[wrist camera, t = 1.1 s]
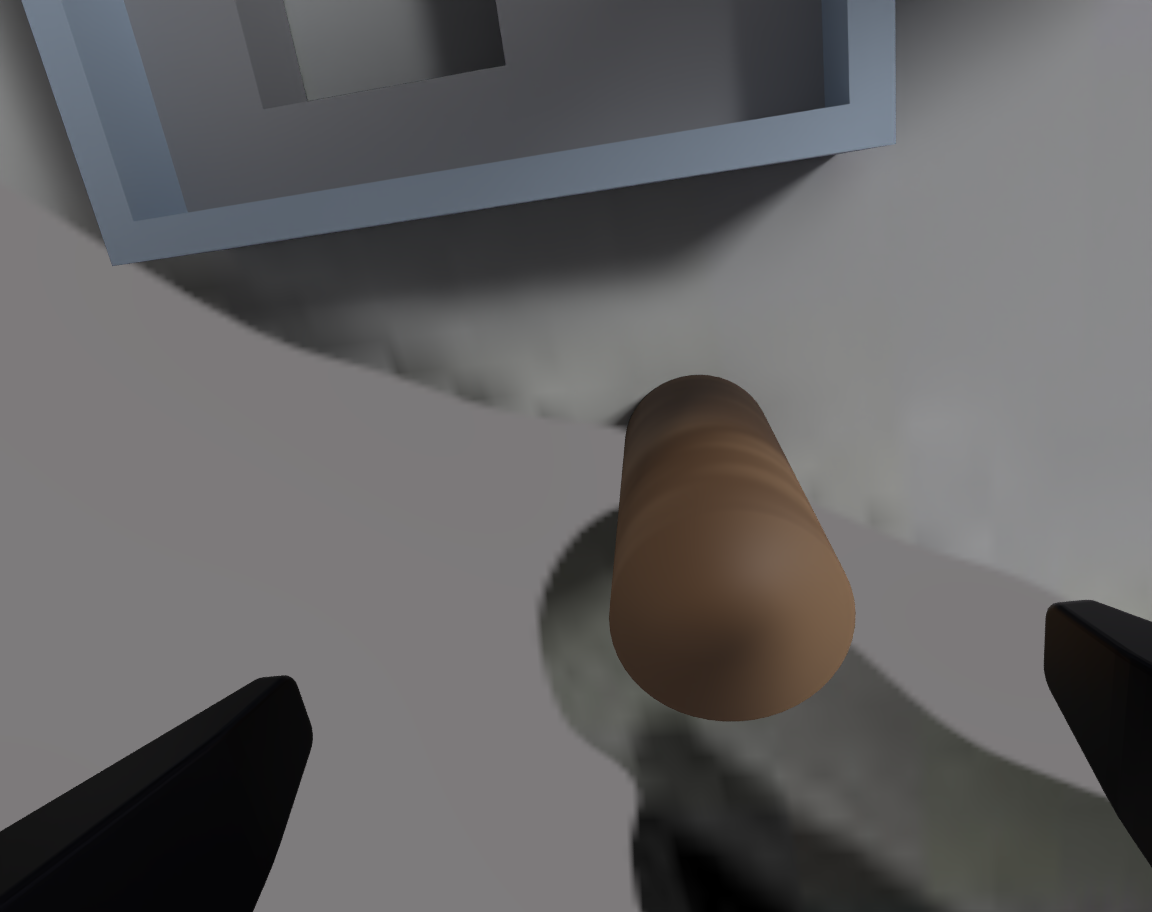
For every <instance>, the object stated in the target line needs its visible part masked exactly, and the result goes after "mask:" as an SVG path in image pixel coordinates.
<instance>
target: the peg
mask: <svg viewBox="0 0 1152 912" xmlns="http://www.w3.org/2000/svg"><path fill="white" fill-rule="evenodd" d="M609 623H610V633H611V637H612V642H613V645H614V648H615V650H616V653H617V656H618V658H619V660H620V661H621V663H622V665H623V667H624V668H625V670H626V671H627V672H628V674H629V675H630V676H631V678H632V679H633V680H634V681H635V682H636V683H637V684H638V685H639V686H640V687H641V688H642V689H643V690H644V691H645V692H647V693H648V694H649V695H650V696H652V697H653V698H654V699H656V700H658V701H659V702H661V703H662V704H664V705H666V706H668V707H670V708H672V709H674V710H676V711H679V712H681V713H684V714H687V715H690V716H693V717H698V718H703V719H707V720H716V721H746V720H754V719H759V718H764V717H768V716H771V715H774V714H777V713H780V712H783V711H786V710H788V709H790V708H792V707H794V706H796V705H798V704H800V703H801V702H803V701H805V700H806V699H808V698H809V697H811V696H812V695H813V694H815V693H816V692H817V691H818V690H820V689H821V688H822V687H823V686H824V685H825V684H826V683H827V682H828V681H829V680H830V679H831V678H832V676H833V675H834V674H835V672H836V671H837V670H838V668H839V667H840V666H841V664H842V662H843V660H844V658H845V656H846V655H847V652H848V650H849V647H850V644H851V642H852V638H853V633H854V628H855V603H854V597H853V593H852V589H851V586H850V583H849V581H848V579H847V577H846V574H845V572H844V570H843V568H842V566H841V564H840V562H839V560H838V558H837V556H836V554H835V552H834V550H833V548H832V546H831V544H830V543H829V541H828V539H827V537H826V535H825V533H824V531H823V529H822V527H821V525H820V523H819V521H818V519H817V517H816V515H815V513H814V511H813V509H812V507H811V505H810V503H809V501H808V499H807V498H806V496H805V494H804V492H803V490H802V488H801V486H800V484H799V482H798V480H797V478H796V476H795V474H794V472H793V470H792V468H791V466H790V464H789V462H788V460H787V458H786V456H785V454H784V452H783V451H782V449H781V447H780V445H779V443H778V441H777V439H776V437H775V435H774V433H773V431H772V429H771V427H770V425H769V423H768V421H767V419H766V417H765V415H764V413H763V411H762V410H761V408H760V407H759V405H758V403H757V402H756V401H755V400H754V399H753V397H752V396H751V395H749V394H748V393H747V392H746V391H745V390H744V389H742V388H741V387H739V386H738V385H736V384H734V383H732V382H730V381H728V380H725V379H722V378H719V377H714V376H709V375H689V376H684V377H679V378H676V379H673V380H670V381H668V382H666V383H664V384H662V385H660V386H658V387H657V388H655V389H654V390H653V391H651V392H650V393H649V394H648V395H647V396H646V397H645V398H644V399H643V400H642V401H641V402H640V403H639V405H638V406H637V407H636V409H635V410H634V412H633V414H632V416H631V418H630V421H629V424H628V426H627V431H626V437H625V447H624V459H623V470H622V481H621V491H620V502H619V513H618V524H617V535H616V546H615V557H614V568H613V578H612V589H611V600H610V613H609Z"/></svg>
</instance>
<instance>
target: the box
mask: <svg viewBox="0 0 1152 912" xmlns="http://www.w3.org/2000/svg"><path fill="white" fill-rule="evenodd" d="M21 1H22V3H23V6H24V9H25V12H26V15H27V18H28V21H29V24H30V27H31V30H32V33H33V36H34V39H35V41H36V44H37V47H38V50H39V53H40V56H41V59H42V62H43V65H44V68H45V71H46V74H47V76H48V79H49V82H50V85H51V88H52V91H53V94H54V97H55V100H56V103H57V106H58V109H59V112H60V114H61V117H62V120H63V123H64V126H65V129H66V132H67V135H68V138H69V141H70V144H71V147H72V149H73V152H74V155H75V158H76V161H77V164H78V167H79V170H80V173H81V176H82V179H83V182H84V184H85V187H86V190H87V193H88V196H89V199H90V202H91V205H92V208H93V211H94V214H95V217H96V220H97V222H98V225H99V228H100V231H101V234H102V237H103V240H104V243H105V246H106V249H107V252H108V255H109V257H110V260H111V263H112V266H115V265H122V264H130V263H137V262H143V261H150V260H157V259H164V258H171V257H178V256H185V255H191V254H198V253H205V252H212V251H219V250H226V249H232V248H239V247H245V246H251V245H258V244H264V243H271V242H277V241H284V240H290V239H296V238H303V237H309V236H316V235H322V234H328V233H335V232H341V231H348V230H354V229H361V228H367V227H373V226H380V225H386V224H393V223H399V222H406V221H412V220H418V219H425V218H431V217H438V216H444V215H450V214H457V213H463V212H470V211H476V210H483V209H489V208H495V207H502V206H508V205H515V204H521V203H528V202H534V201H540V200H547V199H553V198H560V197H566V196H573V195H579V194H585V193H592V192H598V191H605V190H611V189H617V188H624V187H630V186H637V185H643V184H650V183H656V182H662V181H669V180H675V179H682V178H688V177H695V176H701V175H707V174H714V173H720V172H727V171H733V170H739V169H746V168H752V167H759V166H765V165H772V164H778V163H784V162H791V161H797V160H804V159H810V158H817V157H823V156H829V155H836V154H842V153H847V152H853V151H858V150H864V149H870V148H875V147H881V146H887V145H892V144H896V65H895V0H496V6H497V13H498V19H499V25H500V32H501V38H502V44H503V51H504V57H505V63H506V65H504V66H498V67H493V68H487V69H482V70H476V71H471V72H465V73H460V74H454V75H449V76H443V77H438V78H432V79H427V80H421V81H416V82H411V83H405V84H400V85H394V86H389V87H383V88H378V89H372V90H367V91H361V92H356V93H350V94H345V95H339V96H334V97H328V98H323V99H317V100H312V101H307V98H306V93H305V89H304V85H303V81H302V77H301V73H300V69H299V64H298V60H297V56H296V52H295V48H294V44H293V40H292V35H291V31H290V27H289V23H288V19H287V15H286V10H285V6H284V2H283V0H21Z"/></svg>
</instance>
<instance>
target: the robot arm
mask: <svg viewBox="0 0 1152 912" xmlns="http://www.w3.org/2000/svg"><path fill="white" fill-rule="evenodd" d="M1045 622H1046V623H1045V648H1044V672H1045V678H1046V681H1047V684H1048V687H1049V689H1050V691H1051V693H1052V695H1053V697H1054V699H1055V700H1056V702H1057V704H1058V706H1059V708H1060V710H1061V712H1062V714H1063V715H1064V717H1065V719H1066V721H1067V723H1068V725H1069V727H1070V729H1071V731H1072V732H1073V734H1074V736H1075V738H1076V740H1077V742H1078V744H1079V745H1080V747H1081V749H1082V751H1083V753H1084V755H1085V757H1086V759H1087V761H1088V762H1089V764H1090V766H1091V768H1092V770H1093V772H1094V774H1095V776H1096V778H1097V779H1098V781H1099V783H1100V785H1101V787H1102V789H1103V791H1104V793H1105V794H1106V796H1107V798H1108V800H1109V801H1110V803H1111V805H1112V807H1113V808H1114V810H1115V812H1116V814H1117V815H1118V817H1119V819H1120V820H1121V822H1122V823H1123V825H1124V826H1125V828H1126V829H1127V831H1128V833H1129V834H1130V836H1131V837H1132V839H1133V840H1134V842H1135V843H1136V845H1137V846H1138V848H1139V849H1140V851H1141V852H1142V854H1143V855H1144V857H1145V858H1146V859H1147V861H1148V862H1149V864H1150V865H1151V867H1152V622H1151V621H1148V620H1145V619H1143V618H1140V617H1137V616H1134V615H1132V614H1129V613H1126V612H1124V611H1121V610H1118V609H1115V608H1113V607H1110V606H1107V605H1105V604H1102V603H1099V602H1096V601H1093V600H1078V601H1068V602H1058V603H1054V604H1052V605H1051V606H1050V607H1049V608H1048V611H1047V613H1046V621H1045ZM312 741H313V733H312V727H311V723H310V720H309V717H308V715H307V712H306V709H305V706H304V703H303V700H302V697H301V695H300V692H299V689H298V686H297V684H296V682H295V681H294V680H293V678H291V677H289V676H286V675H285V676H273V677H263V678H259V679H256V680H254V681H253V682H251V683H249V684H247V685H246V686H244V687H243V688H241V689H239V690H237V691H236V692H234V693H233V694H231V695H229V696H227V697H226V698H224V699H222V700H221V701H219V702H217V703H216V704H214V705H212V706H211V707H209V708H207V709H205V710H204V711H202V712H200V713H199V714H197V715H195V716H194V717H192V718H190V719H189V720H187V721H185V722H184V723H182V724H180V725H179V726H177V727H175V728H174V729H172V730H170V731H168V732H167V733H165V734H163V735H162V736H160V737H159V738H157V739H155V740H153V741H152V742H150V743H148V744H147V745H145V746H143V747H142V748H140V749H138V750H137V751H135V752H133V753H132V754H130V755H128V756H126V757H125V758H123V759H121V760H120V761H118V762H116V763H115V764H113V765H111V766H110V767H108V768H106V769H105V770H103V771H101V772H100V773H98V774H96V775H95V776H93V777H91V778H89V779H88V780H86V781H85V782H83V783H81V784H79V785H78V786H76V787H74V788H73V789H71V790H69V791H68V792H66V793H64V794H63V795H61V796H59V797H58V798H56V799H54V800H53V801H51V802H49V803H47V804H46V805H44V806H42V807H41V808H39V809H38V810H36V811H34V812H32V813H31V814H29V815H27V816H26V817H24V818H22V819H21V820H19V821H17V822H16V823H14V824H12V825H11V826H9V827H7V828H5V829H4V830H2V831H1V832H0V912H253V910H254V908H255V906H256V903H257V901H258V899H259V896H260V894H261V892H262V890H263V887H264V885H265V883H266V880H267V878H268V875H269V873H270V870H271V868H272V865H273V863H274V860H275V857H276V854H277V851H278V849H279V846H280V843H281V840H282V837H283V834H284V831H285V828H286V825H287V822H288V819H289V815H290V812H291V809H292V806H293V803H294V800H295V797H296V794H297V791H298V788H299V785H300V781H301V778H302V775H303V772H304V769H305V766H306V763H307V760H308V757H309V754H310V750H311V747H312Z"/></svg>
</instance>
